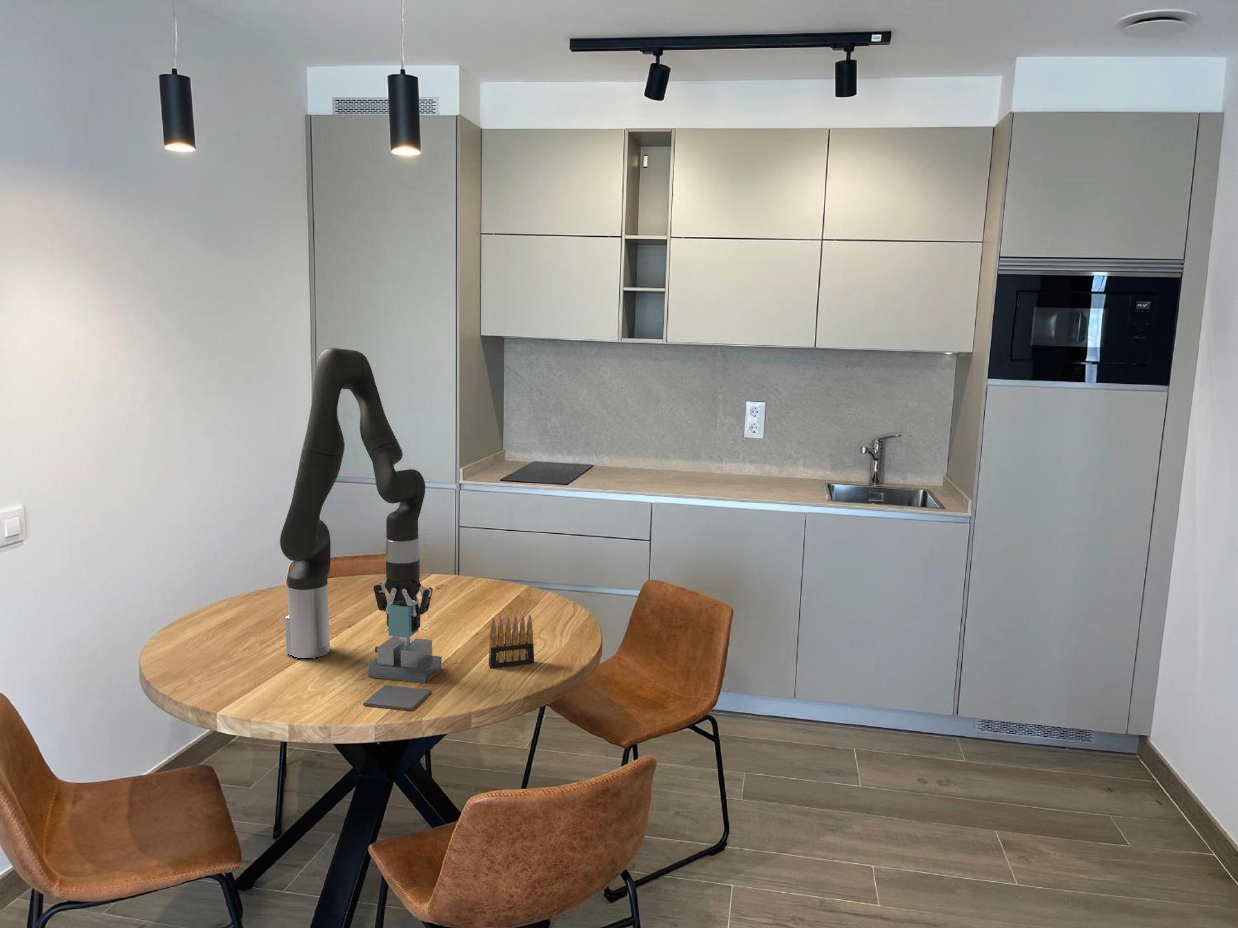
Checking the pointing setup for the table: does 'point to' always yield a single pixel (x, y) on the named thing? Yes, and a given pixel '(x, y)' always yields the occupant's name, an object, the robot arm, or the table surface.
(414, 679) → the vise
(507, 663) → the ammunition clip
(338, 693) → the table surface
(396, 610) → the sleeve
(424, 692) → the mat
